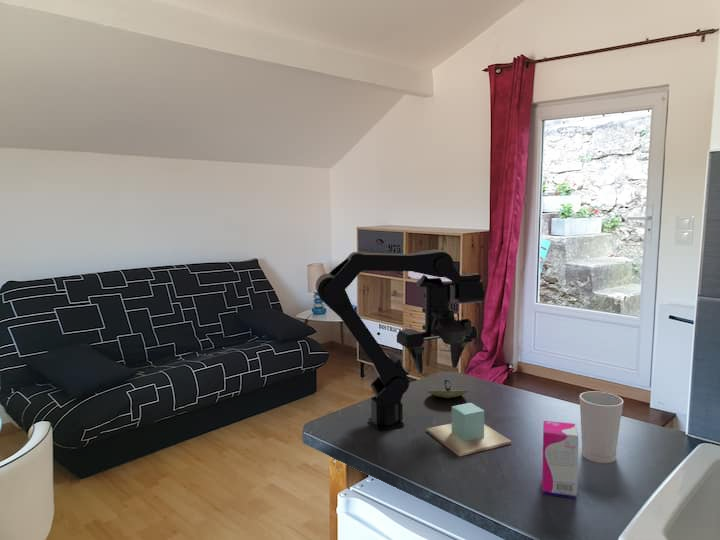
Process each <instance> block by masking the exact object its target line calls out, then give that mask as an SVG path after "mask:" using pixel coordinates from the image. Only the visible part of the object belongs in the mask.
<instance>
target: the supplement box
mask: <svg viewBox="0 0 720 540" xmlns="http://www.w3.org/2000/svg"><path fill="white" fill-rule="evenodd" d="M542 436H543V438H542V468H541V469H542V471H541V472H542V474H541V476H542V478H541V480H542V481H541V492H542V494H543V495H548V496H553V497H554V496H555V497H562V498H568V499H574V500H577V498H578V467H579V463H578V462H579V431H578V428H577V424H576V423H570V422H560V421H549V420H543V433H542Z"/></svg>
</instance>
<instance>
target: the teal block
mask: <svg viewBox="0 0 720 540" xmlns="http://www.w3.org/2000/svg"><path fill="white" fill-rule="evenodd" d="M451 423H452V433H453V434H455V435H456V436H457V437H459V438H460V439H461V440H463V441H464V442H465V441H470V440H474V439H478V438H483V437H484V424H485V410H484V409H482V408H481V407H479V406H477V405H475V404H474V403H472V402H467V403H462V404H457V405H453V406H452V405H451Z"/></svg>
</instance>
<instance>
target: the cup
mask: <svg viewBox="0 0 720 540" xmlns="http://www.w3.org/2000/svg"><path fill="white" fill-rule="evenodd" d="M623 409H624V399H623V398H622V397H620V396H619V395H616V394H614V393H610V392H605V391H598V390H596V391H595V390H594V391H593V390H591V391H585V392H582V393H580V394H579V413H580V415H579V416H580V432H581V437H580V438H581V455H582V456H583V458H585V459H587V460H588V461H590V462H594V463H599V464H612V463H614V462H615V461H616V460H617V447H618V440H619V433H620V425H621V419H622V415H623V414H622V413H623Z"/></svg>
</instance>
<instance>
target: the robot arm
mask: <svg viewBox="0 0 720 540" xmlns="http://www.w3.org/2000/svg"><path fill="white" fill-rule="evenodd" d="M362 271H370V272H371V271H373V272H374V271H375V272H376V271H377V272H378V271H379V272H380V271H381V272H413V273H418V274H422V275H421V277H420V278H419V279H418V280H417V281H416V282H415V285H417V286H418V287H420V288H424V303H425V304H424V307H422V309H421V310H422V312H421V313H424V324H422V326H421V327H422V330H423V331H421V332H420V331H418V330H416V329H413V328H410V329H401V330H398V333H397V334H396V343H398V344H399V345H401V346H403V347H404V348H406V349H407V351H408V353H409V354H410V356H411V358H412V361H413V363H414V365H415V367H416V369H417V372H418V373H419V374H420V375H421V374H423V369H424V368H423V367H424V364H423V361H424V360H423V352H424V350H425V349H426V348H425V347H424V346H423V344H424V343H425V341H429V340H436V339H437V340H439V339H441V340H442V342H443V343H444V344H445V345H450V360H451V361H450V362H451V366H452V368H454V369H457V367H458V365H459V362H460V358H461V356H462V354H463V351H464V349H465V348H466V346H468V345H469V344H470V343H473V341H474V340H475V339H476V340H477V339H478V338H479V331H478V329H477V326H475V325H473V324H472V321H471V320H470V319H469V318H465V319H464V318H463V319H455V313H454V309H451V300H453V301H455V303H456V304H458V305H461V304H477V303H478V304H481V303H483V301H484V299H485V295H486V291H485V288H484V284H483V281H482V278H481V277H482V275H481V274H480V273H477V272H475V273H470V274H460V273H459V271H458V270H457V269H456V268H455V266H454V260H453V258H452V256H451V255H450V254H449V253H447V252H446V251H443V250H439V249H427V250H421V251H418V252H417V251H416V252H414V253H412V252H411V253H385V252H384V253H383V252H382V253H381V252H380V253H379V252H377V253H375V252H372V253H371V252H369V253H368V252H359V251H353V252H351V253H350V254H349V255H348V256H347V257H346V258H345V259H344V260H343V261H341V262H340V263H339V264H338V265H336V266H335V267H334V268H333V269H332V270H331V271H329V273H324V274H322V275H320V276H318V278H317V279H316V281H315V282H316V283H315V290H316V292H317V295H318V297H319V299H320V300H321V301H322V302H323V303H325V305H326V306H327V307H328V308H329V309H330V310H332V311H333V312H334V314H336V315H337V316H338V317H339V318H340V319H341V320H342V322H343V323H344V325H345V326H346V328H347V329H348V330H349V332H350V334H352V336H353V338H354V339H355V340H356V342H357V343H358V344H359V346H360V347H361V349H362V350H363V351H364V353H365V354H366V355H367V357H368V358H369V360H370V361H371V362H372V365H373V367H374V370H375V372H376V374H377V377H376V378H375V379H374V380H373V381H372V382H371V384H370V385H369V386H370V389H371V391H372V393H373V394H374V396H373V397H371V398H370V407H371V408H370V409H371V410H370V412H371V416H370V417H369V418H368V422H370V424H371V425H372V426H374V427H375V428H376V429H377V430H378V431H386V430H390V429H396V428H401V427H404V426H405V422H403V420H404V410H403V409H404V407H403V406H404V404H403V403H402V398H403V395H404V394H405V393H406V392H407V391H408V389H409V387H410V383H411V382H410V378H409V377H408V376H409V375H410V373H409V371H408V370H407V369H406V367H405V366H404V365H403V364H402V363H401V361H400V359H399V358H398V357H397V355H396V353H394V352H393V353H392V354H391V355H388V354H387V353H386V352H385V351H384V350H383V349H382V347H381V345H380V344H379V343H378V341H377V340H376V338H375V337H374V336H373V334H372V332H370V330H369V328H368V327H367V325H366V324H365V322H363V320H362V318H361V317H360V316H359V314H358V313H357V311H356V310H355V309H354V307H353V305H352V302H351V299H350V297H349V295H348V293H347V291H346V289H347V288H348V287H350V286H351V284H352V283H353V281H355V279H356V278H357V277H358V276H359V274H360V273H362ZM426 275H427V276H426ZM428 276H432V277H430V278H428ZM442 278H445V279H447V280H449V281H445V280H444V281H443V280H442Z"/></svg>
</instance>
